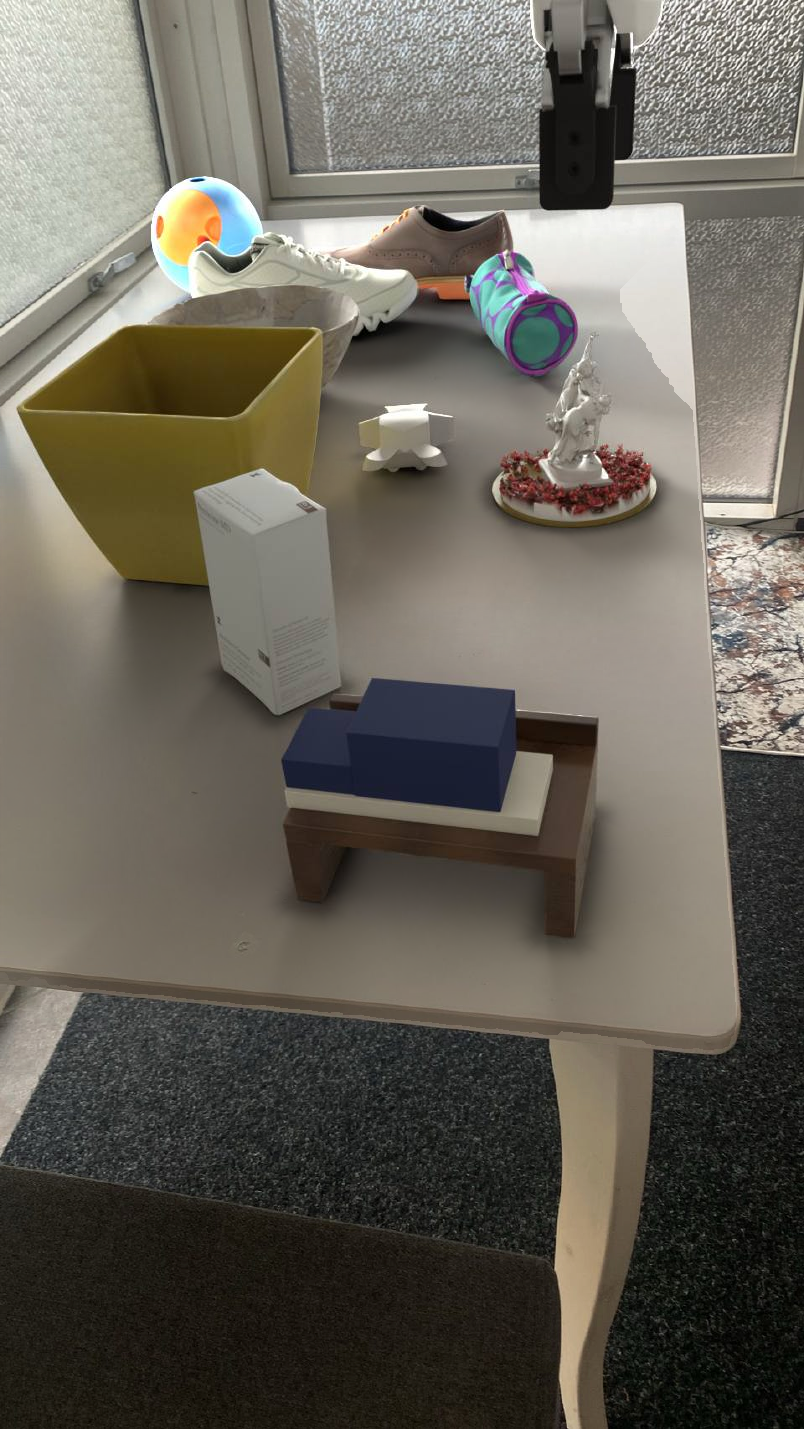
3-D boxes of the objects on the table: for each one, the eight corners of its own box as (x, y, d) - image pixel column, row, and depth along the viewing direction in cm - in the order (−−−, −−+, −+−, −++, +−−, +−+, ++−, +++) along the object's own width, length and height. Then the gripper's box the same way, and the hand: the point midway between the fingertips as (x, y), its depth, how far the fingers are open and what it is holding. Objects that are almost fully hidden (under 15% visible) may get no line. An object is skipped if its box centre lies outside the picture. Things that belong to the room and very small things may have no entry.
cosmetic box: (221, 671, 84) (183, 490, 75) (289, 640, 87) (259, 462, 78) (280, 721, 78) (246, 532, 69) (350, 687, 81) (327, 500, 72)
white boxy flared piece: (452, 391, 114) (453, 433, 101) (454, 440, 117) (456, 488, 104) (360, 397, 115) (350, 440, 102) (364, 446, 117) (355, 494, 104)
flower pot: (274, 616, 90) (240, 417, 79) (66, 598, 95) (8, 408, 84) (347, 507, 104) (326, 326, 94) (163, 496, 109) (123, 324, 99)
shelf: (595, 814, 68) (599, 716, 64) (574, 938, 61) (576, 836, 56) (346, 787, 72) (332, 692, 68) (296, 899, 64) (277, 801, 60)
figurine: (626, 445, 110) (633, 298, 101) (680, 513, 98) (693, 353, 89) (477, 466, 109) (471, 319, 100) (513, 537, 97) (510, 377, 88)
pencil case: (465, 328, 141) (462, 249, 135) (533, 319, 142) (533, 240, 136) (504, 386, 125) (502, 298, 119) (581, 375, 126) (583, 288, 120)
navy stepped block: (552, 770, 63) (553, 690, 59) (538, 836, 59) (537, 754, 55) (316, 746, 66) (304, 669, 63) (287, 807, 62) (272, 728, 59)
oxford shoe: (308, 281, 163) (298, 198, 156) (521, 276, 157) (520, 189, 150) (287, 305, 155) (275, 218, 148) (511, 301, 148) (510, 210, 141)
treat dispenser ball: (285, 278, 166) (270, 165, 156) (246, 311, 154) (226, 192, 145) (190, 277, 170) (170, 167, 160) (145, 310, 158) (120, 194, 149)
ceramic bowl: (384, 425, 119) (375, 331, 113) (167, 459, 116) (146, 365, 110) (349, 357, 136) (340, 273, 130) (160, 385, 133) (142, 300, 127)
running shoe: (420, 338, 140) (413, 237, 132) (186, 355, 141) (167, 256, 134) (420, 310, 149) (414, 214, 141) (200, 326, 150) (183, 231, 143)
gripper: (688, -337, 36) (656, 230, 46) (708, -291, 49) (679, 141, 59) (457, -306, 37) (476, 233, 48) (537, -269, 51) (538, 146, 61)
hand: (589, 182), depth 53 cm, fingers open, 9 cm apart
